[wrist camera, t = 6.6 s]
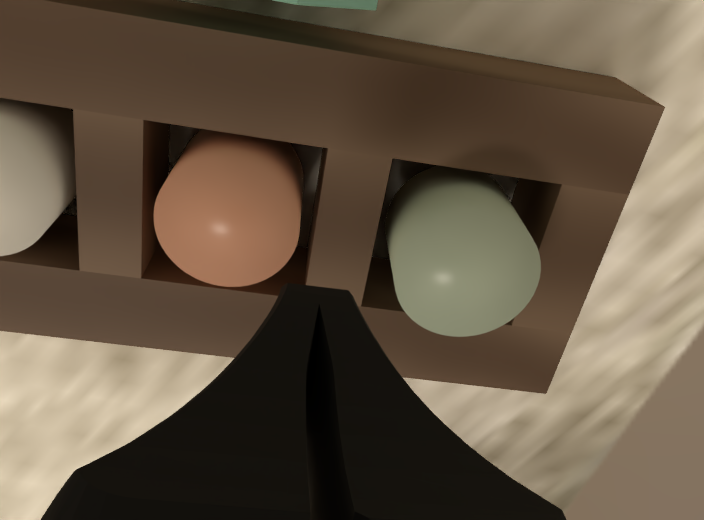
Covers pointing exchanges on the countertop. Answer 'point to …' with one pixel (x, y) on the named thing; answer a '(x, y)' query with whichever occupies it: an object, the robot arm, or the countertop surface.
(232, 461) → the robot arm
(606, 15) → the countertop surface
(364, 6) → the container
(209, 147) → the terracotta button
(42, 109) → the cream button
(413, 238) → the sage button
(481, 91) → the button panel
